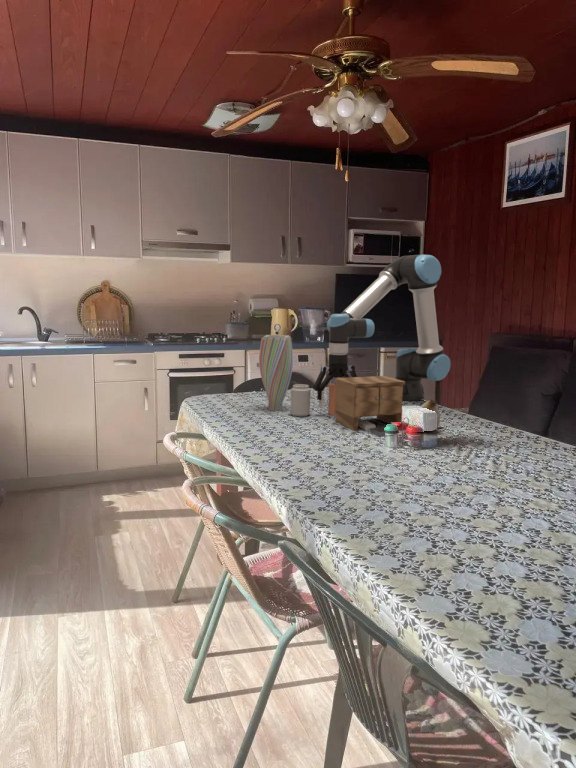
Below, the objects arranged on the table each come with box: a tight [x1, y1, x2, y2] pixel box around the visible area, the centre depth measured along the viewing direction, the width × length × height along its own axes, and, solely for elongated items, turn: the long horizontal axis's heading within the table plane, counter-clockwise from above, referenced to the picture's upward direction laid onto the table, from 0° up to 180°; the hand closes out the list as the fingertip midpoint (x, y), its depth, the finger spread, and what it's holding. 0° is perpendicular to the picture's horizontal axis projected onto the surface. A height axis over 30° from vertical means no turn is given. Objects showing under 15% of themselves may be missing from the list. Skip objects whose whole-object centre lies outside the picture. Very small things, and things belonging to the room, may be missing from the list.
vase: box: [258, 334, 294, 411], centre depth 239 cm, size 14×14×30 cm
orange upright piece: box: [327, 382, 377, 431], centre depth 221 cm, size 29×5×12 cm, turn 22°
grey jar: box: [290, 383, 311, 418], centre depth 229 cm, size 8×8×12 cm
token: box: [369, 426, 386, 438], centre depth 202 cm, size 6×6×2 cm
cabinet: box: [334, 375, 405, 431], centre depth 215 cm, size 21×15×16 cm
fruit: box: [419, 398, 441, 428], centre depth 207 cm, size 10×9×12 cm
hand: (336, 406), depth 233 cm, fingers open, 13 cm apart
